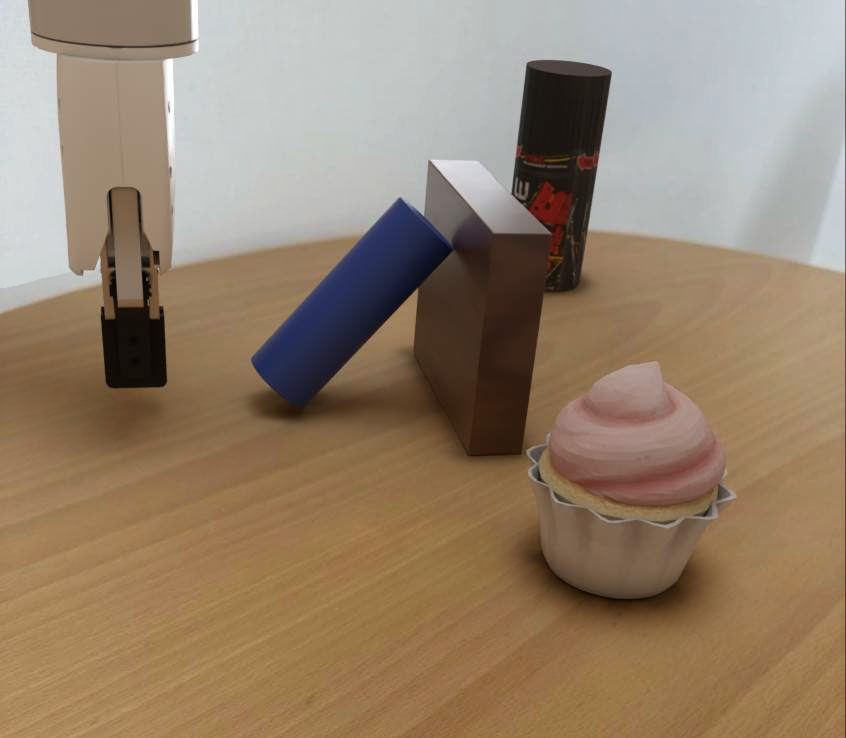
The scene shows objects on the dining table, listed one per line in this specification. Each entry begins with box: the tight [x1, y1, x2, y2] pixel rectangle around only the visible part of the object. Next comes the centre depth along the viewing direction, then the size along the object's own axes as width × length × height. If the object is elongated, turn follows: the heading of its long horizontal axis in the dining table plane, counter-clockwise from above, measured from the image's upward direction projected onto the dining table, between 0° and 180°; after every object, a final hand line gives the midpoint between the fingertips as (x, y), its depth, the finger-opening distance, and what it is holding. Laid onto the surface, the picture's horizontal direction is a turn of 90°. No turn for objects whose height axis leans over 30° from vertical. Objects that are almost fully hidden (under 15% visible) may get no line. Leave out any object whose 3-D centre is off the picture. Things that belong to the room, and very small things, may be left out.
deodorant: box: [510, 59, 613, 293], centre depth 83 cm, size 6×6×15 cm
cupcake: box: [526, 360, 738, 600], centre depth 51 cm, size 9×9×10 cm
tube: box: [250, 195, 454, 409], centre depth 63 cm, size 11×4×12 cm, turn 103°
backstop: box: [412, 159, 552, 456], centre depth 64 cm, size 3×14×12 cm, turn 13°
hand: (136, 381), depth 62 cm, fingers closed
